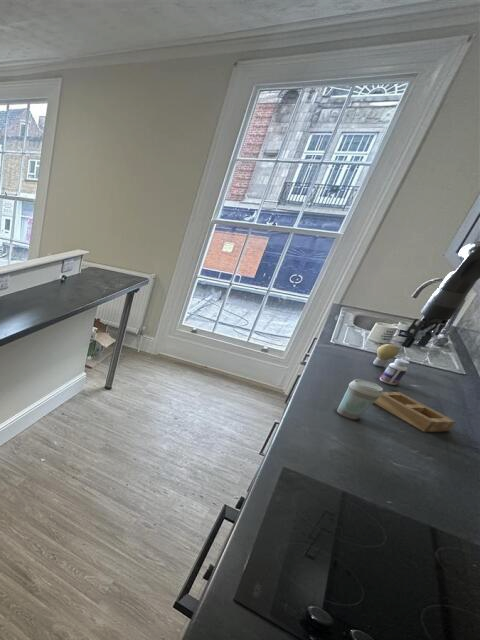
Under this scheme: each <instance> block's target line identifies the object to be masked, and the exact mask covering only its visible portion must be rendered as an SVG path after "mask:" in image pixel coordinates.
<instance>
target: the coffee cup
mask: <svg viewBox="0 0 480 640" xmlns="http://www.w3.org/2000/svg"><path fill="white" fill-rule="evenodd" d="M382 392H384V388H383V387H382V386H380V385H379V384H377V383H375V382H372V381H369V380H366V379H363V378H362V379H361V378H355V379H353V380H352V381H350V382H349V383H348V388H347V389H346V392H345V393H344V395H343V398H342V400H341V402H340V404H339V406H338V408H337V410H336V412H337V413H338V414H339V415H340V416H342V417H345V418H347V419H351V420H358V419H359V418H360V417H361V416H362V415H363V414H364V413H366V411H367V410H368V409H369V408H370V407H371V406H372V405H373V404H375V403H374V402H375V401H376V399H377V398H378V397H380V396H382V394H383V393H382Z"/></svg>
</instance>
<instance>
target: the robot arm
mask: <svg viewBox="0 0 480 640" xmlns="http://www.w3.org/2000/svg"><path fill="white" fill-rule="evenodd" d="M457 257H458V259H459V261H460V262H461V264H460V265H459V266H458V267H457V268H456V270H455V271H451V272H449V273H448V274H447V275H446V276H445V278H444V279H443V280H442V282H441V283H440V285H439V287H437V289H436V290H435V291H434V292H433V293H432V295H431V296H430V297H429V299H428V301H427V302H426V303H425V304H424V306H423V307H422V309H421V310H420V314H421V315H423V317H422V318H421V319H419V318H415V319H413V322H412V323H411V324H410V325H409V327H408V328H407V329H406V331H405V332H404V336H406V338H405V340H404V341H403V342H402V344H401V347H403V348H406V349H409V348H411V347H412V346H413V344H414V343H415V342H416V340H417V339H418V338H419V337H421V338H419V340H418V341H417V342H416V345H417V346H419V347H423V348H424V347H426V346H427V345H428V343H429V342H430V341H431V340H432V338H434V337H435V336H439V335H440V334H441V332H442V330H443V329H444V328H445V326H446V325H447V323H449V321H450V320H451V319H452V318H453V316H454V315H455V313H457V311H458V309H459V308H460V307H461V306H462V304H463V303H464V301H465V300H466V298H467V296H468V294H469V293H470V292H471V291H472V289H473V287H474V286H475V285H476V284H477V282H478V281H479V280H480V240H478V241H474V242H471V243H468V244H466V245H465V246H463V247H462V248H461V249H460V250H459V252H458V254H457Z"/></svg>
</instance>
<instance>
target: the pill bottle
mask: <svg viewBox="0 0 480 640" xmlns="http://www.w3.org/2000/svg"><path fill="white" fill-rule="evenodd" d="M410 363H411V362H410V361H408V360H406V359H402V358H395V360H394V362H391V363H389V364H388V366H387V367H386V369H385V370H384V372H383V373H382V374H381V376H380V377H379V380H380V381H381V382H383V383H384V384H388V385H393V386H396V385H398V383H399V382H400V380H401V379H402V378H403V376H404V375H405V374H406V372H407V371H408V366H409V365H410Z"/></svg>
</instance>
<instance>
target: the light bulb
mask: <svg viewBox="0 0 480 640" xmlns="http://www.w3.org/2000/svg"><path fill="white" fill-rule="evenodd" d="M376 354H377V355H376V356H377V357H376V358H375V359H374V361H373V365H374V366H376V367H379V368H381V367H385V365H386V364H387V363H388V360H391V359H393V358H395V357H397V356H398V354H399V348H398V347H397V346H396V345H394V344H390V343H385V344H382V345H380V346H379V347H377V350H376Z"/></svg>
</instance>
